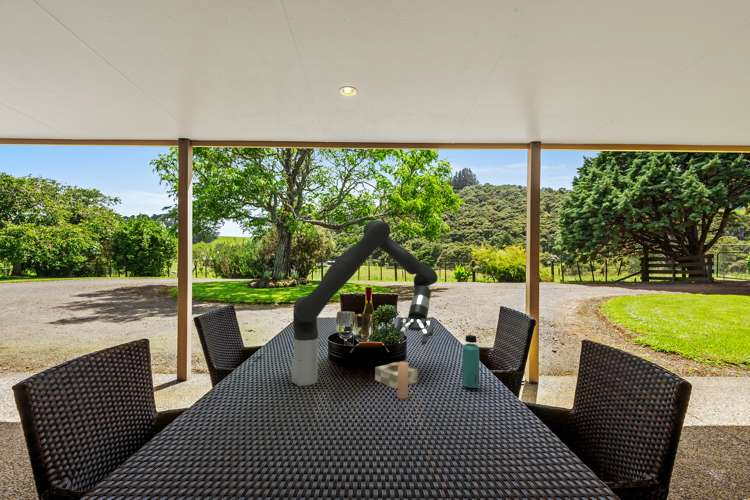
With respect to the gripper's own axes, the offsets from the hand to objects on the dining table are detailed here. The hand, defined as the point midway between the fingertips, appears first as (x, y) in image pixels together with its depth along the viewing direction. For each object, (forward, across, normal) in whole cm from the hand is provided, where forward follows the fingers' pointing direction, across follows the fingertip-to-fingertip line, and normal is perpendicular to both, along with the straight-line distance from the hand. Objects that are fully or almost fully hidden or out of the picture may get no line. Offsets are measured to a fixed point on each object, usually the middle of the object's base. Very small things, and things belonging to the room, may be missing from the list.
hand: (411, 342), depth 142 cm
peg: (+20, 0, +3) cm, 20 cm away
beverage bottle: (+8, +22, +16) cm, 28 cm away
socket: (+10, -7, +13) cm, 18 cm away
